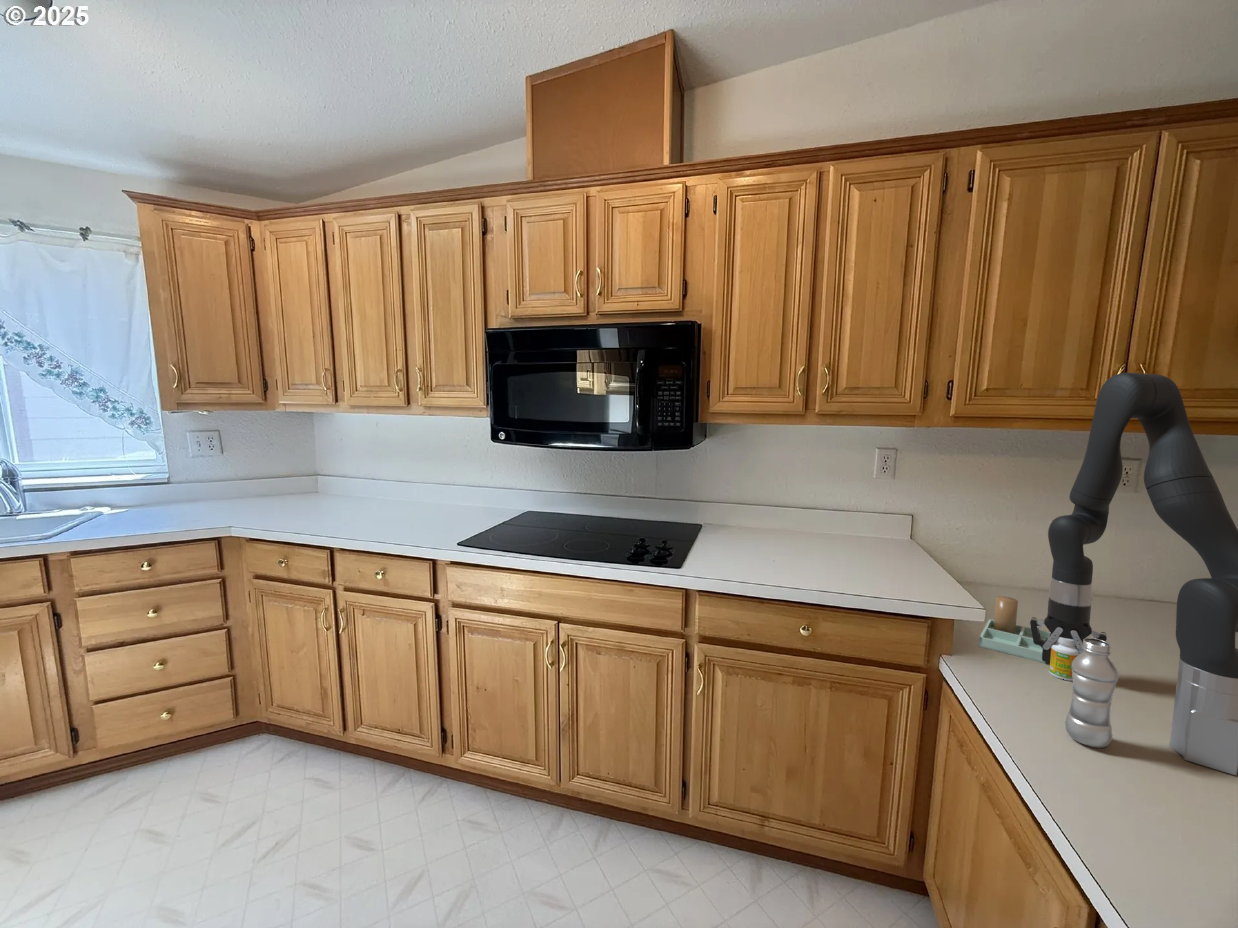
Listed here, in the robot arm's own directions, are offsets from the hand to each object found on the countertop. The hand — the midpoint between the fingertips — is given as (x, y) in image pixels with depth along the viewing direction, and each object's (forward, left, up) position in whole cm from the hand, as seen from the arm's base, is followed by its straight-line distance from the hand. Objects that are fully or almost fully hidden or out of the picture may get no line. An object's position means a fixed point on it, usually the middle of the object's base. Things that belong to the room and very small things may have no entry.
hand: (1063, 667), depth 123 cm
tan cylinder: (+16, +13, -1) cm, 21 cm away
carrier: (+12, +10, -2) cm, 16 cm away
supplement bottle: (0, 0, -2) cm, 2 cm away
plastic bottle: (-28, -5, -2) cm, 29 cm away
